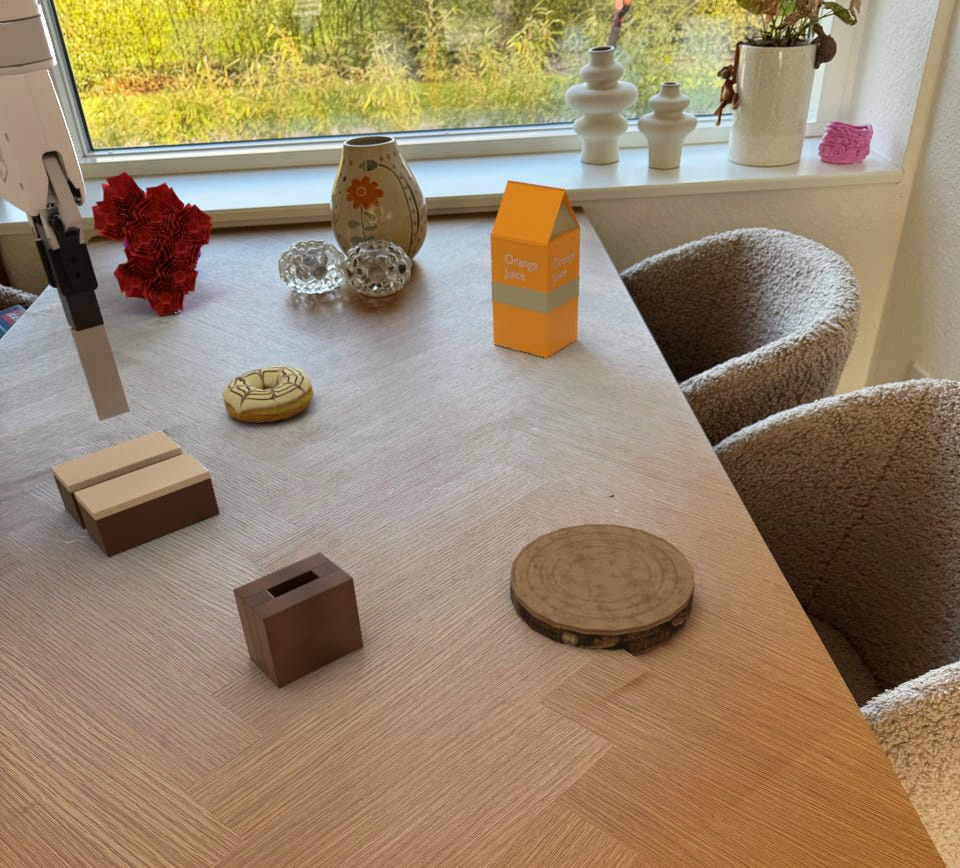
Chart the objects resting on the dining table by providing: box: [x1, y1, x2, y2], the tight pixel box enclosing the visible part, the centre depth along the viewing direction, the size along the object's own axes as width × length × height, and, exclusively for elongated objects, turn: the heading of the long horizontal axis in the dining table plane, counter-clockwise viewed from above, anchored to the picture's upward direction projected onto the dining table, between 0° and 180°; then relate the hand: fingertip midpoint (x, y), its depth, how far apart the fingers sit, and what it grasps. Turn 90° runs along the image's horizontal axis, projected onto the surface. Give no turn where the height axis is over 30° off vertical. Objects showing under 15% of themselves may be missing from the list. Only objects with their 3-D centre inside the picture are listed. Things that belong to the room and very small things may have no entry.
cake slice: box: [74, 452, 220, 557], centre depth 96 cm, size 12×5×5 cm, turn 128°
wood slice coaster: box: [509, 523, 696, 656], centre depth 84 cm, size 16×16×3 cm
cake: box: [50, 430, 183, 529], centre depth 100 cm, size 12×5×5 cm, turn 128°
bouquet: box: [91, 171, 214, 316], centre depth 151 cm, size 20×16×30 cm
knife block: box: [232, 551, 364, 689], centre depth 77 cm, size 8×5×8 cm, turn 128°
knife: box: [36, 217, 131, 422], centre depth 87 cm, size 3×2×18 cm
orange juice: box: [490, 179, 581, 359], centre depth 124 cm, size 8×9×20 cm
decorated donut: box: [222, 365, 314, 424], centre depth 116 cm, size 10×11×4 cm
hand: (73, 286), depth 85 cm, fingers closed on knife, 2 cm apart
